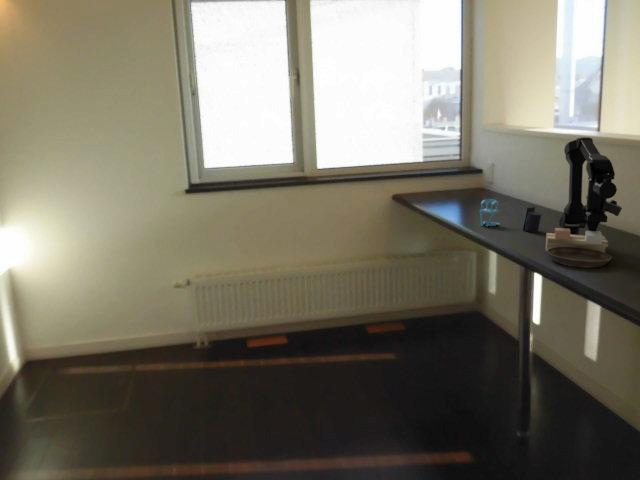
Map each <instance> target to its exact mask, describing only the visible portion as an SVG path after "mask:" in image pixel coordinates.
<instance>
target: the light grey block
mask: <svg viewBox="0 0 640 480" xmlns="http://www.w3.org/2000/svg"><path fill="white" fill-rule="evenodd" d="M584 235H585V241H586V243H589V244H602V236H603V235H602V231H598V230H596V231H589V230H585V233H584Z"/></svg>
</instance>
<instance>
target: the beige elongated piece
mask: <svg viewBox="0 0 640 480" xmlns="http://www.w3.org/2000/svg"><path fill="white" fill-rule="evenodd" d="M554 233H555V232H554ZM554 233H551V232H546V236H545V238H546V239H545V252H546V253H548V252H547V250H548V249H551V248H556V247H575V248H585V249H591V250H596V251H600V252H604V253H606V247H607V248H608V247H609V241H608V240H607V238H606V237H605V236H604V235H602V244H589V243H586V241H585V234H579V235H573V234H570V239H555V236H554Z"/></svg>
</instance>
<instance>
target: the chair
mask: <svg viewBox="0 0 640 480" xmlns="http://www.w3.org/2000/svg"><path fill="white" fill-rule="evenodd" d="M484 204H486V205H485V206H486V207H485V208H484V206H483V205H484ZM489 204H490V206H491V207H490V208H489ZM480 206H481V209H479V210H478V212H479V214H480V227H484V226H485V227H486V226H487V227H486V228H488V226H490V227H497V226H496V225H498V226H500V225H501V223H500V222H493V221H492V219H493V217H494V215H495V214H497V213H499V212H500V209H498V206H499V202H498V200H496V199H494V198H489V199H483V200H482V201H481V202H480ZM493 206H495V209H493V208H494V207H493ZM484 213H485V214H486V213H488V214H490V217H489V219H488V221H487V220H485V221H484ZM489 223H490V224H489ZM484 224H485V225H484ZM483 225H484V226H483Z"/></svg>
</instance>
